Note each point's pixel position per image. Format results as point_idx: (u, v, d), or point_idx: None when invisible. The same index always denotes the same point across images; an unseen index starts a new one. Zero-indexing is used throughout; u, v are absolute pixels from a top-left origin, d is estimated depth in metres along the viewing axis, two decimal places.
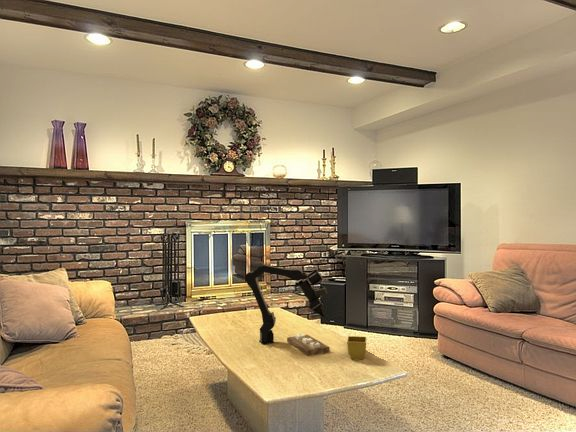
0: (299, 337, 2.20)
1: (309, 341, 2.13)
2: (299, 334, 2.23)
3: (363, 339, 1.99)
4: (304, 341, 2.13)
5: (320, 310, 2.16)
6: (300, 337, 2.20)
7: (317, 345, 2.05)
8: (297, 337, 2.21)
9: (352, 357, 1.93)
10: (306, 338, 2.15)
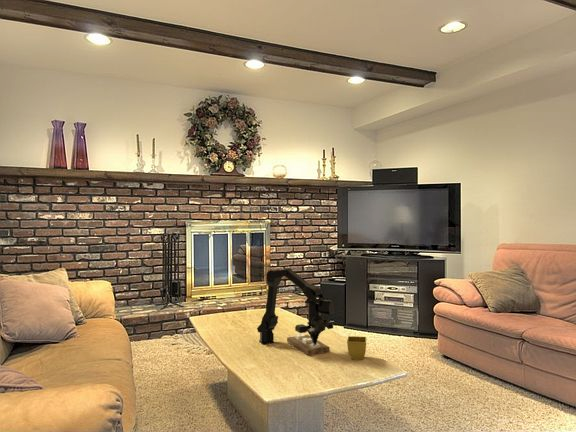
0: (299, 337, 2.20)
1: (309, 341, 2.13)
2: (299, 334, 2.23)
3: (363, 339, 1.99)
4: (304, 341, 2.13)
5: (312, 337, 2.06)
6: (300, 337, 2.20)
7: (317, 346, 2.05)
8: (297, 337, 2.21)
9: (352, 357, 1.93)
10: (306, 338, 2.15)
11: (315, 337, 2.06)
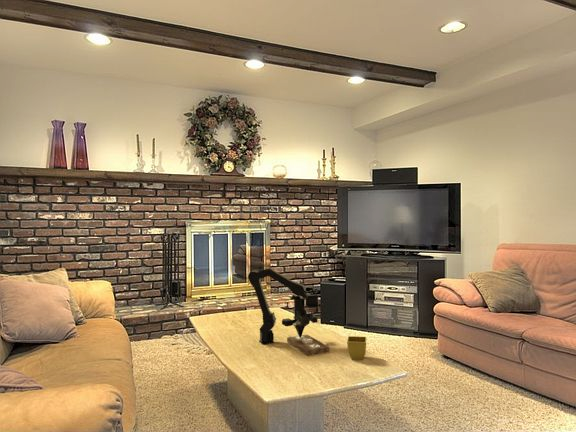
0: None
1: (309, 341, 2.13)
2: None
3: (363, 339, 1.99)
4: (304, 341, 2.13)
5: (297, 330, 2.21)
6: None
7: (317, 347, 2.05)
8: None
9: (352, 357, 1.93)
10: (306, 338, 2.15)
11: (300, 330, 2.22)
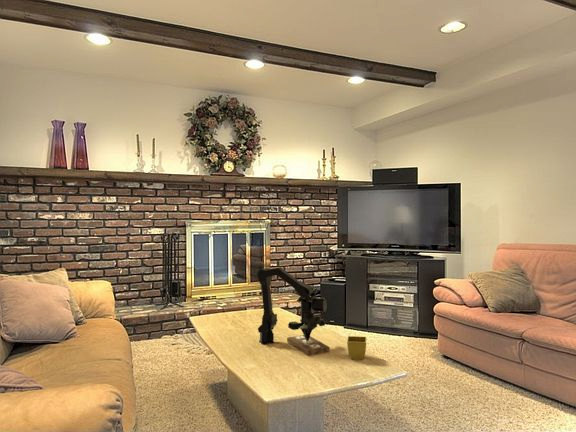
0: None
1: None
2: (299, 336, 2.23)
3: (363, 339, 1.99)
4: (304, 343, 2.13)
5: (304, 333, 2.14)
6: None
7: (317, 347, 2.05)
8: None
9: (352, 357, 1.93)
10: None
11: None
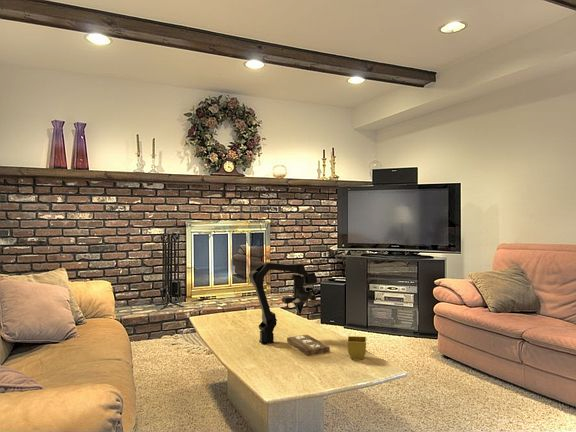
0: None
1: None
2: (299, 336, 2.23)
3: (363, 339, 1.99)
4: (304, 343, 2.13)
5: (297, 307, 2.31)
6: None
7: (317, 347, 2.05)
8: None
9: (352, 357, 1.93)
10: (306, 340, 2.15)
11: None
